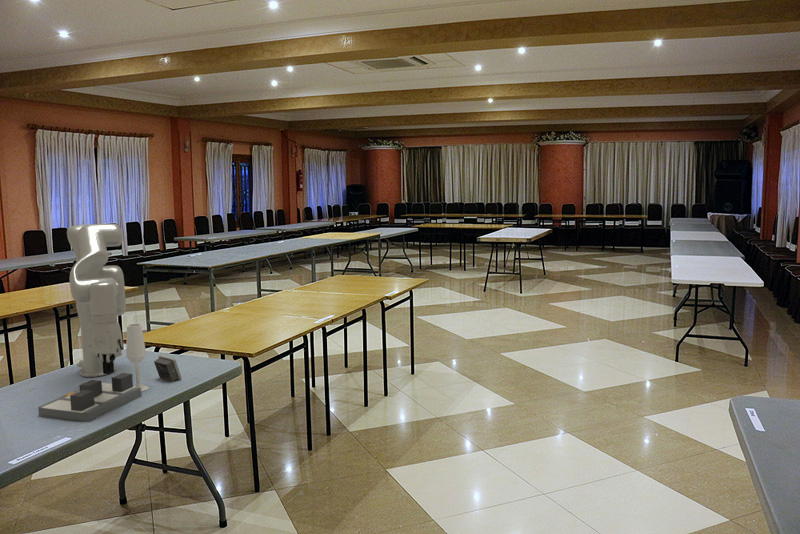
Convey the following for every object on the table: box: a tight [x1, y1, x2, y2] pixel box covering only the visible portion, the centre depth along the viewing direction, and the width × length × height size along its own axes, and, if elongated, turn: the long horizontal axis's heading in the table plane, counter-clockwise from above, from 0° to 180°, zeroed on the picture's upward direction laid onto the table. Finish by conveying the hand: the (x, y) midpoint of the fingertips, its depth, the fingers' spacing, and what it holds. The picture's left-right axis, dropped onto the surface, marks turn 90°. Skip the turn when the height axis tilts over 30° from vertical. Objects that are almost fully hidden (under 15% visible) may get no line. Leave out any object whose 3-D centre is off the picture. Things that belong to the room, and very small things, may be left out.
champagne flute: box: [125, 323, 149, 392], centre depth 217 cm, size 7×7×24 cm
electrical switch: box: [153, 354, 182, 383], centre depth 228 cm, size 9×5×9 cm, turn 57°
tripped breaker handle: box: [78, 379, 103, 397], centre depth 202 cm, size 4×6×4 cm
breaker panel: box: [37, 372, 142, 423], centre depth 202 cm, size 20×25×8 cm
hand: (108, 372), depth 198 cm, fingers closed
